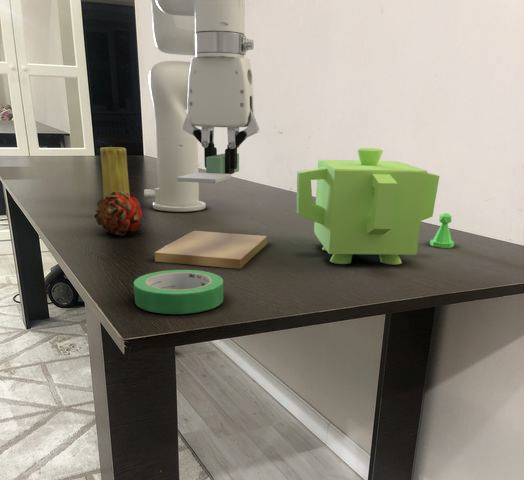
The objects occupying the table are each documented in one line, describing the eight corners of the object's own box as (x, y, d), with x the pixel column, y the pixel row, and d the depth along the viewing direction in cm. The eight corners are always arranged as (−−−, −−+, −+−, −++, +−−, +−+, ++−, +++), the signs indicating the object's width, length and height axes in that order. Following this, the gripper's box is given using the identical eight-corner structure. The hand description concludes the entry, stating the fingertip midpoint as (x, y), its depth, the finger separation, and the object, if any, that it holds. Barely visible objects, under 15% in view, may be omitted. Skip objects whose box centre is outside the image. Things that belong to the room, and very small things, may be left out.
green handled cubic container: (287, 238, 106) (291, 142, 100) (404, 240, 108) (416, 145, 101) (303, 274, 83) (310, 152, 77) (452, 275, 85) (471, 156, 78)
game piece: (453, 248, 102) (459, 215, 100) (429, 246, 103) (434, 213, 101) (453, 243, 106) (458, 211, 103) (430, 242, 107) (434, 209, 104)
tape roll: (126, 292, 74) (124, 273, 72) (205, 284, 78) (205, 265, 77) (147, 320, 64) (146, 297, 63) (236, 308, 69) (236, 287, 68)
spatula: (216, 170, 100) (216, 152, 99) (249, 171, 99) (249, 153, 98) (177, 181, 83) (176, 160, 82) (215, 183, 82) (215, 161, 81)
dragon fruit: (118, 249, 102) (116, 244, 113) (155, 219, 103) (149, 218, 114) (86, 210, 99) (87, 210, 110) (123, 180, 100) (121, 183, 111)
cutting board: (154, 261, 89) (154, 252, 88) (194, 238, 105) (193, 230, 104) (240, 269, 86) (240, 259, 85) (267, 244, 102) (267, 236, 101)
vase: (118, 220, 119) (112, 149, 113) (97, 217, 122) (91, 147, 116) (138, 216, 124) (134, 148, 118) (118, 213, 127) (113, 146, 121)
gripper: (276, 51, 88) (273, 173, 95) (179, 51, 91) (183, 169, 98) (265, 45, 81) (262, 178, 88) (161, 45, 85) (166, 173, 92)
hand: (220, 172), depth 93 cm, fingers closed on spatula, 2 cm apart
